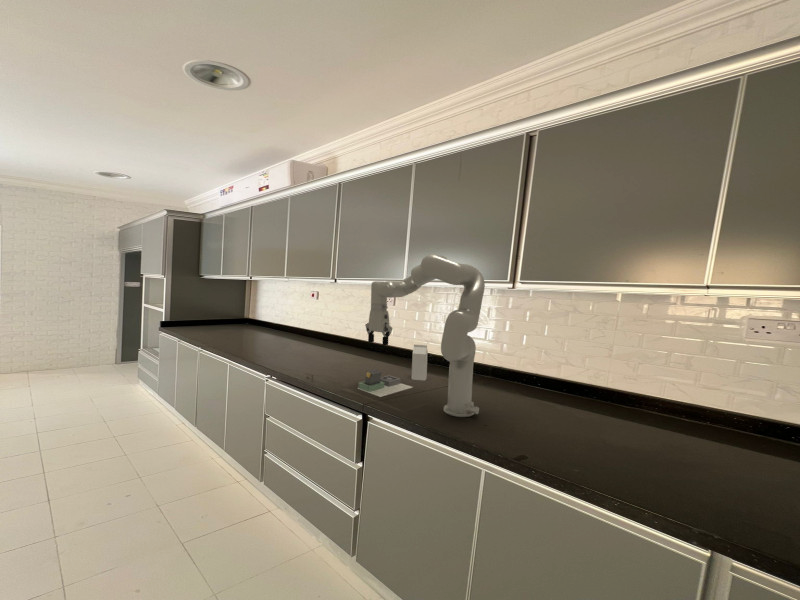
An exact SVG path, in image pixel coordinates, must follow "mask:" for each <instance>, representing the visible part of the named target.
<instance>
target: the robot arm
mask: <svg viewBox="0 0 800 600" xmlns="http://www.w3.org/2000/svg"><path fill="white" fill-rule="evenodd" d="M435 280H439V281H441V282H444V283H446V284H449V285H453V286H463V290H462V292H461V295H460V299H459V305H458V309H455V310H453V311H451V312H450V313H449V314H448V316H447V317H446V320H445V323H444V327H443V332H442V338H441V343H440V352H441V355H442V357H443V358H444V359H445V360H446V361H448V362H449V365H448V366H449V367H448V368H449V369H448V384H447V385H448V387H447V404H444V406H443V412H444V413H445V414H447V415H449V416H452V417H457V418H467V417H472V416H474V415H478V414H479V412H480V407H478V406H474V402H475V401H472V397H473V396H472V395H473V377H474V376H473V375H474V363H475V356H476V350H477V348H476V342H475V340H474V339H473V338H472V337H471V336H470V335H468V334H469V333H471V332H474V331H475V330H476V329H477V328H478V325H479V320H480V314H481V309H482V305H483V303H482V302H483V298H484V293H485V287H486V286H485V285H486V283H485V278H484V276H483V274H482V273H481V272H480V270H479V269H478V268H476V267H474V266H472V265H470V264H466V263H460V262H459V263H458V262H454V261H452V260H449V259H448V258H447V257H446V256H444V255H439V254H434V253H431V254H426V255H425V256H424V257H423V258H422V259H421V263H420V264H419V265H417V266H414V267H413V268H412V269H411V271H410V275H409V276H407V277H406V278H404V279H402V280H400V281H399V280H396V281H395V280H387V281H380V280H377V281H376V280H375V281H372V282H371V286H370V287H371V288H370V289H371V290H370V298H371V299H370V311H369V315H368V322H367V323H366V324H365V325H364V326H365V331H366V332H367V335H368V336H367V340H368V342H367V343H374V341H375V334H374V332H377V333H381V334H382V346H389V337H390V336H391V335H392V334H391V333H392V331H393V327H392V326H391V325H390V314H389V311H388V309H389V307H388V299H390V298H391V299H392V298H404V297H406V296H408V295H409V294H413V293H415V292H416V291H417V290H419V289H420V288H421V287H422V286H424V285H426V284H428V283H430V282H432V281H435Z"/></svg>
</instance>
